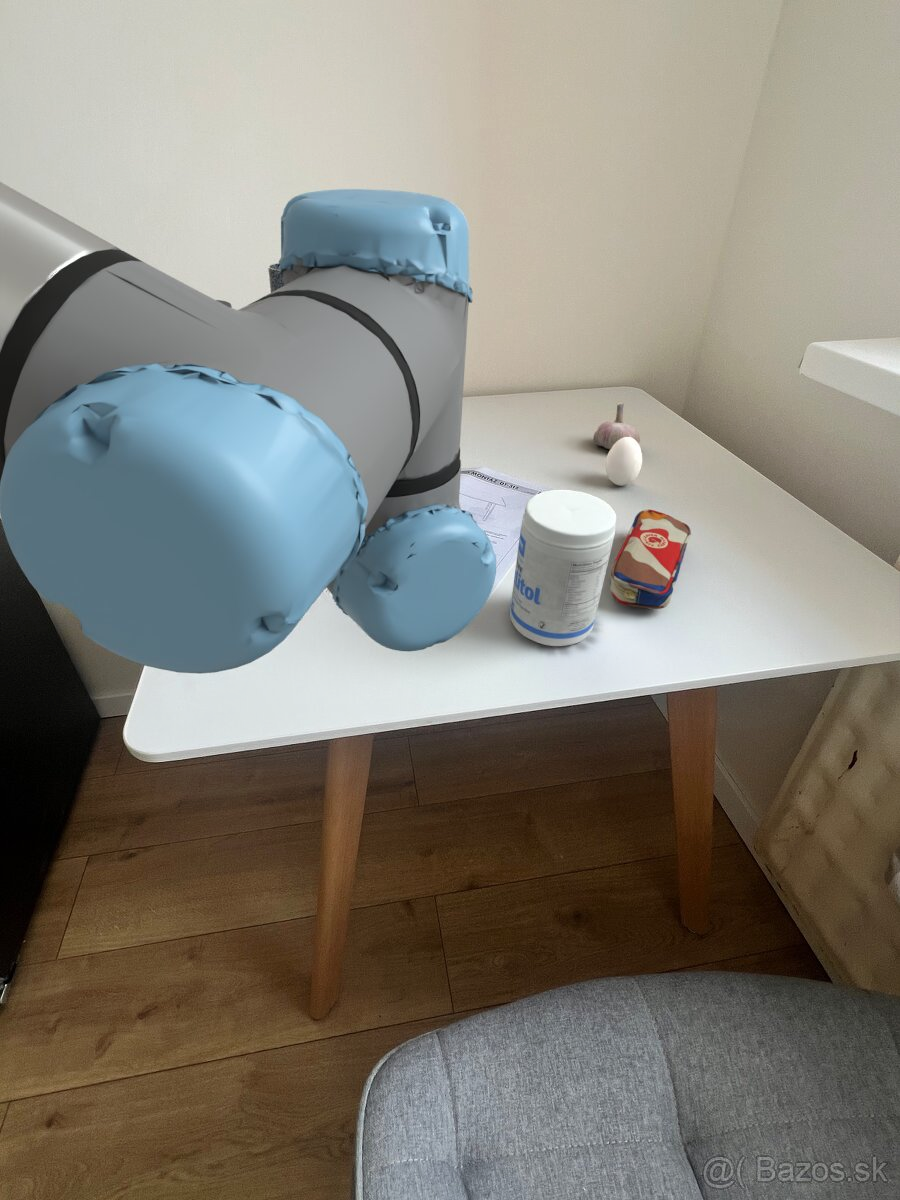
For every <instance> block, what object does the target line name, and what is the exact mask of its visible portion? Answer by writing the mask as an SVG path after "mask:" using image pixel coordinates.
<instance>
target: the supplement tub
mask: <svg viewBox="0 0 900 1200" xmlns="http://www.w3.org/2000/svg"><path fill="white" fill-rule="evenodd" d="M616 523H617V515H616V512H615V510H614V509H613V508H612V506H611V505H610V504H609V503H608V502H606V501H604V500H603V499H601V498H599V497H597V496H595V495H593V494H589V493H587V492H583V491H579V490H571V489H551V490H545V491H542V492H539V493H537V494H535V495H533V496H531V497H530V498H529V499H528V501H527V502H526V504H525V507H524V513H523V515H522V520H521V525H520V533H519V539H518V546H517V555H516V562H515V570H514V577H513V578H514V579H513V583H512V584H513V586H512V592H511V599H510V610H509V617H510V621H511V623H512V625H513V627H514V629H516V631H518V633H520V635H522V636H524V637H525V638H527V639H529V640H531V641H533V642H535V643H537V644H541V645H544V646H551V647H565V646H571V645H575V644H578V643H580V642H581V641H583V640H585V639H587V637H588V636H589V635H590V634H591V632H592V630H593V628H594V625H595V621H596V618H597V617H596V616H597V612H598V608H599V603H600V599H601V596H602V590H603V587H604V582H605V577H606V574H607V568H608V564H609V560H610V556H611V551H612V548H613V543H614V538H615V534H616Z"/></svg>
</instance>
